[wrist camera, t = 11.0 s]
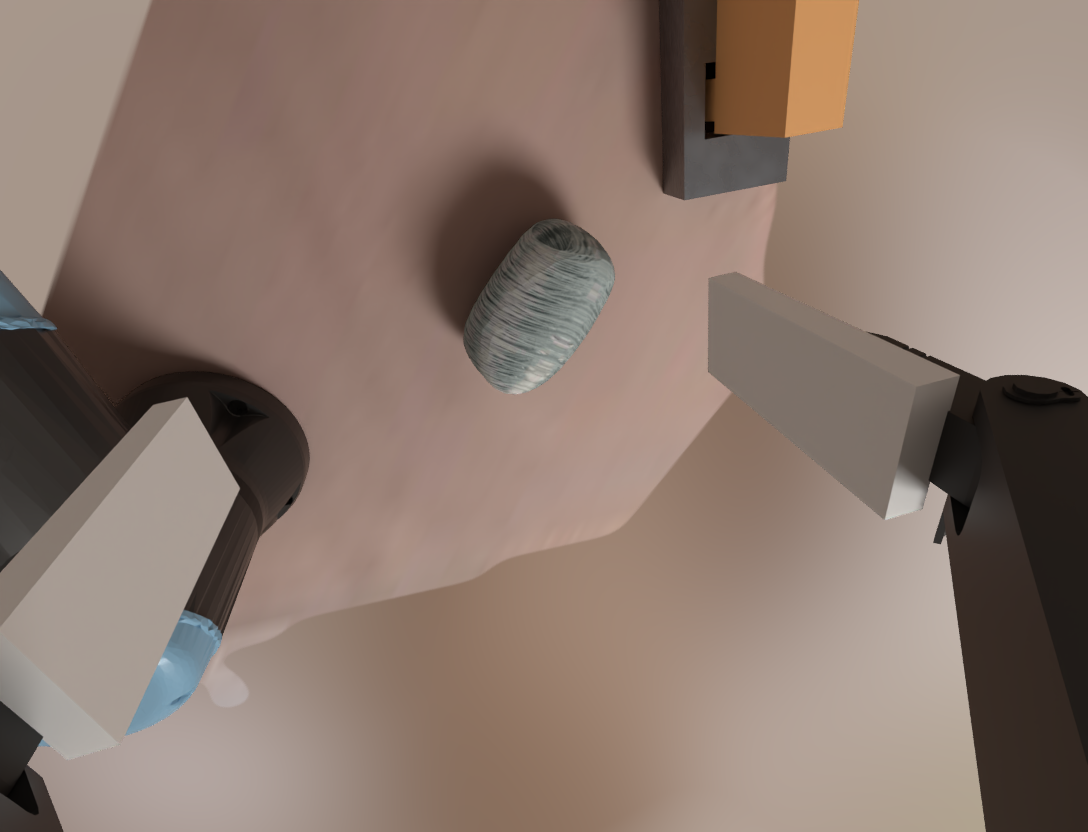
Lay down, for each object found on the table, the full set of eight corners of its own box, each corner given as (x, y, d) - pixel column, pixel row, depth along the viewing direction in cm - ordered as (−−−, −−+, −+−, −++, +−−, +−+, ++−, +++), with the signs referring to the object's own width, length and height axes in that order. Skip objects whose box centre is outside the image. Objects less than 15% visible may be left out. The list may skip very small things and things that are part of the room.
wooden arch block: (692, 132, 40) (784, 137, 30) (693, -79, 34) (810, -165, 23) (736, 124, 40) (842, 127, 30) (744, -86, 34) (882, -174, 24)
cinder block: (663, 193, 42) (684, 200, 39) (655, -159, 32) (682, -192, 28) (757, 175, 43) (786, 181, 39) (779, -175, 33) (819, -209, 29)
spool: (532, 170, 36) (590, 267, 32) (607, 228, 44) (663, 315, 39) (418, 302, 43) (453, 400, 38) (500, 334, 50) (538, 419, 45)
